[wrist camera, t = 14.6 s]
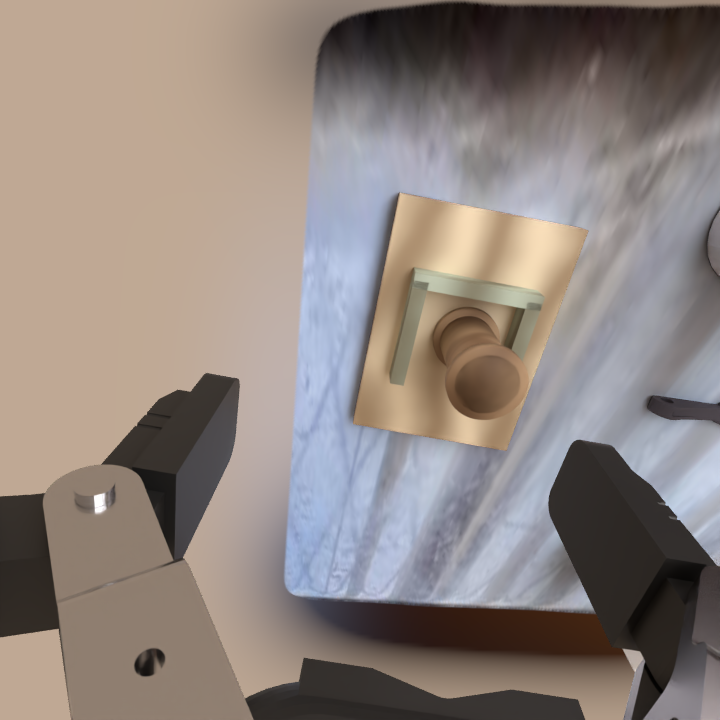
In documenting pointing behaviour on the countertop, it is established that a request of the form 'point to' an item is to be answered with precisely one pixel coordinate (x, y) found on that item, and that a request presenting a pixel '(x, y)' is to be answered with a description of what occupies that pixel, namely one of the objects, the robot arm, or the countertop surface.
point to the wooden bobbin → (478, 365)
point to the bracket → (684, 409)
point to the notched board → (455, 290)
